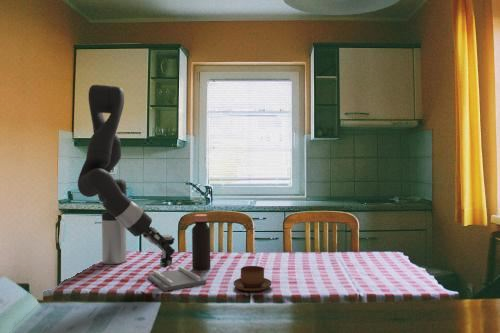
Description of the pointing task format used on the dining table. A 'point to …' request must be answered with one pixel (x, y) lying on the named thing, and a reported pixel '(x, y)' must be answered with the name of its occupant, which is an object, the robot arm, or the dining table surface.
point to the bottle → (201, 243)
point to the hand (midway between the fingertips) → (169, 251)
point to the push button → (165, 257)
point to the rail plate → (176, 279)
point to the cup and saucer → (252, 279)
